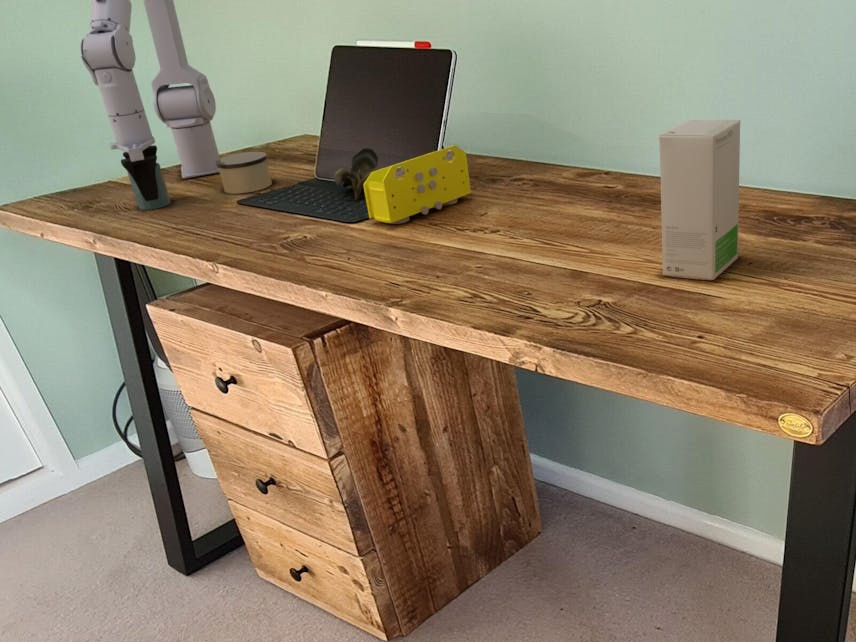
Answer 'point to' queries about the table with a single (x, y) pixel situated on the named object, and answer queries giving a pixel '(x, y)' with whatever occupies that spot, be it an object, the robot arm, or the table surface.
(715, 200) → the cosmetic box
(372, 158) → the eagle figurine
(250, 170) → the jar
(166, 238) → the table surface
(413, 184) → the yellow toy chassis
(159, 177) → the cup
